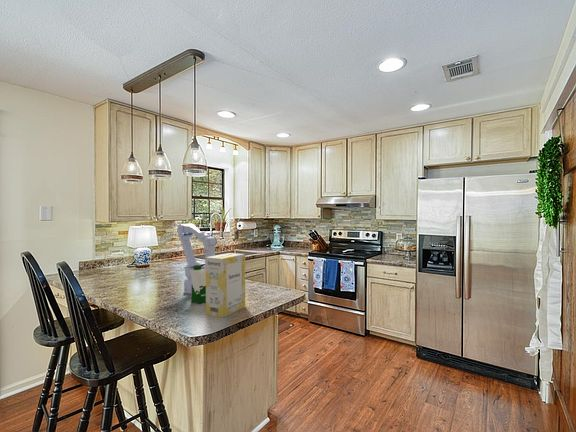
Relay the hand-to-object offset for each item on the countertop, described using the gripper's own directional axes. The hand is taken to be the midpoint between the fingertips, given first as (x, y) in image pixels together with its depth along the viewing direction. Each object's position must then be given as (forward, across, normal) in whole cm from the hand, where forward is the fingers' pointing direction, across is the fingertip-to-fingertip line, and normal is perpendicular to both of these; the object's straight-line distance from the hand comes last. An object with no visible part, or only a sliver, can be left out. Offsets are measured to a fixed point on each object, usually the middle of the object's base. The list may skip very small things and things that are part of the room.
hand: (210, 280), depth 176 cm
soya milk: (+10, -10, 0) cm, 14 cm away
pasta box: (+10, -19, -22) cm, 31 cm away
